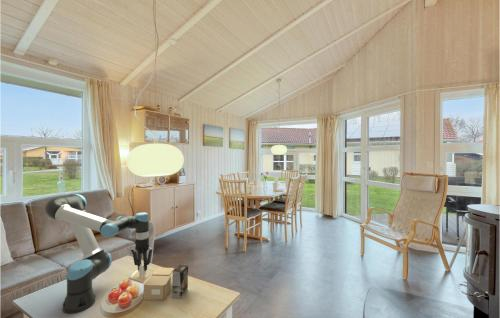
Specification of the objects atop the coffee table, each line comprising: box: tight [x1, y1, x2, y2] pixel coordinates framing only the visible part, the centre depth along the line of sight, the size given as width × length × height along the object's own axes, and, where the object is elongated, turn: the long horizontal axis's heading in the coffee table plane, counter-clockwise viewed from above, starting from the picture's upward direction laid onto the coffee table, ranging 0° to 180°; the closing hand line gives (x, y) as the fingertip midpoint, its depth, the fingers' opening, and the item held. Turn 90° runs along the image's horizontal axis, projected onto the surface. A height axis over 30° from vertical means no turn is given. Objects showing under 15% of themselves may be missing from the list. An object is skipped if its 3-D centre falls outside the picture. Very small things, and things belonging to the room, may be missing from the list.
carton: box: [143, 267, 175, 301], centre depth 146 cm, size 13×20×10 cm, turn 0°
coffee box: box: [171, 264, 189, 300], centre depth 142 cm, size 9×6×16 cm
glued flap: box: [128, 269, 151, 285], centre depth 141 cm, size 1×10×9 cm
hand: (142, 275), depth 141 cm, fingers closed
